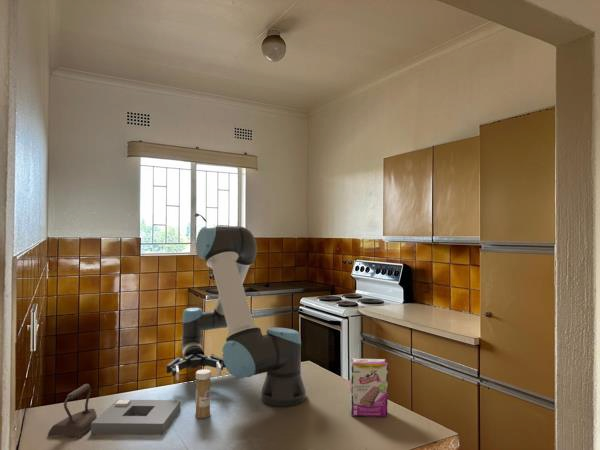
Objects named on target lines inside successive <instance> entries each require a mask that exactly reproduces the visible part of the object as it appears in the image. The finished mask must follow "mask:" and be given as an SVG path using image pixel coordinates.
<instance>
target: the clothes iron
mask: <svg viewBox="0 0 600 450" xmlns="http://www.w3.org/2000/svg"><path fill="white" fill-rule="evenodd" d="M86 392H87V395H86V399H85V403H84V410H82V411H78V412H76V413H73V414H71V411H70V410H69V408H68V405H67V404H68V401H73V400H75V399H76V398H78V397H80V396H81V395H82V394H83V393H84V394H85V393H86ZM91 393H92V387H91V385H90V384H89V383H85V384H83V385H81V386H80V387H78V388H77V389H75V390H73V391H71V392H70V393H68V394H67V395H66V398H65V400H64V402H63V409H64V410H65V412H66V415H67V417H66V418H63V419H62V420H60V421H59V422H57V423H55V424H53V425H52V426H51V428H50V429H49V431H48V434H47V436H48V437H50V436H57V437H56V438H65V437H69V438H68V439H81V438H82V437H83V436H85V435H86V434H88V433H89V431H90V432H91V423H92V422H93V421H94V420H95V419H96V418H97V417H98V416H97V412H96V409H94V408H93V407H92V408H89V407H88V406H89V400H90V397H91ZM58 436H59V437H58Z"/></svg>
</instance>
